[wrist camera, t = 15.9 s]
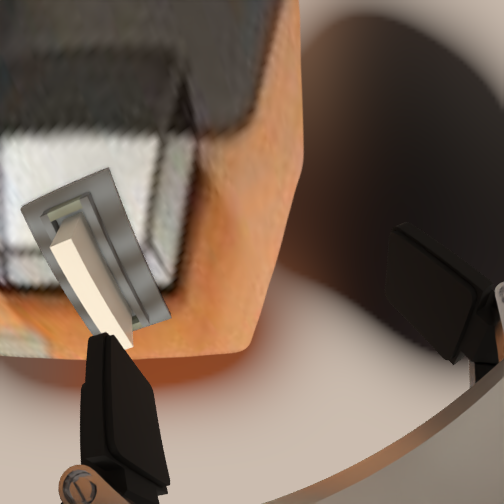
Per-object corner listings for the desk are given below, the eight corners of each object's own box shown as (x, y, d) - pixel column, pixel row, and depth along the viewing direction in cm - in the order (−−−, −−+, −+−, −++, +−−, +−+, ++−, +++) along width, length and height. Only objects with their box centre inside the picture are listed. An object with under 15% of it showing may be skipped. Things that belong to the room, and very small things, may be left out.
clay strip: (63, 219, 37) (49, 247, 30) (82, 211, 37) (70, 238, 31) (115, 316, 47) (115, 352, 40) (131, 311, 47) (133, 346, 41)
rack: (22, 206, 35) (15, 214, 32) (108, 167, 37) (106, 173, 34) (98, 338, 49) (97, 350, 46) (170, 314, 51) (172, 326, 49)
